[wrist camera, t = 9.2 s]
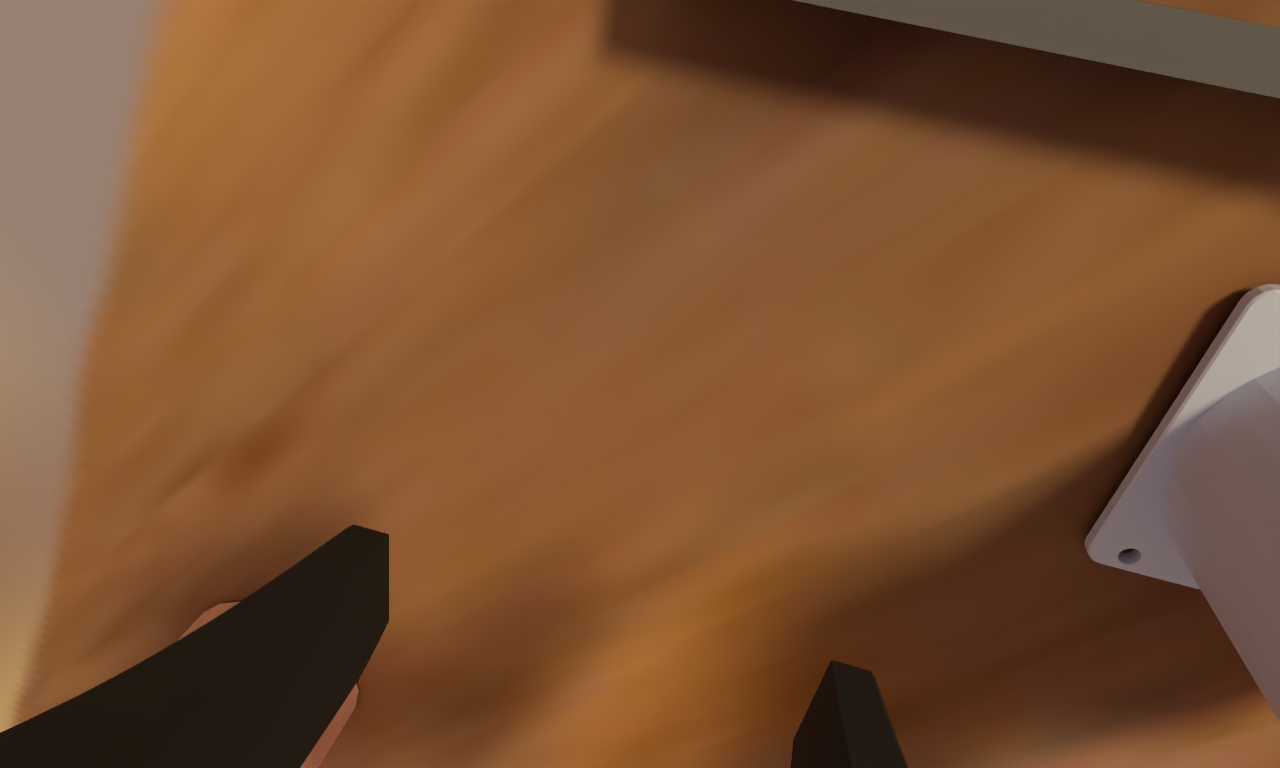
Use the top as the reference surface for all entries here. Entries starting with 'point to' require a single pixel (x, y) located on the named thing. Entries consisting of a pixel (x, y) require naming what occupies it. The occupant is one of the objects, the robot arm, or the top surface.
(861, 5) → the frame
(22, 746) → the robot arm
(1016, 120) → the top surface
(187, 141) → the top surface
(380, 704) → the top surface
